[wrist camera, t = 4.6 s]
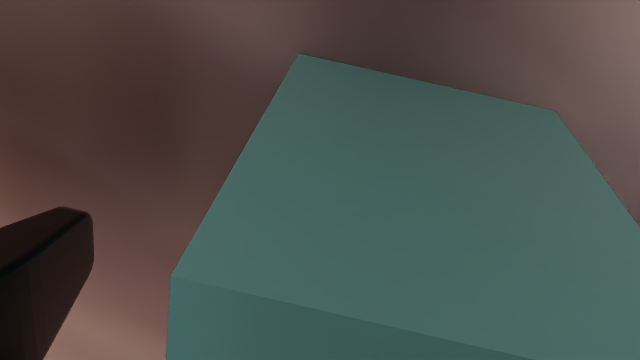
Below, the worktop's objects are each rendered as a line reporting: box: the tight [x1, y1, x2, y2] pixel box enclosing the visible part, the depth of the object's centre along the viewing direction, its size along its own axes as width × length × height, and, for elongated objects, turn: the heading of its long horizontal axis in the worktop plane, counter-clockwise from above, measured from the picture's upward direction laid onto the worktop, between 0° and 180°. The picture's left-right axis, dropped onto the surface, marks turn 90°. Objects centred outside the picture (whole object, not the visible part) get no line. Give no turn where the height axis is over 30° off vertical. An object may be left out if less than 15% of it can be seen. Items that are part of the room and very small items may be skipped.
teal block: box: [166, 53, 640, 360], centre depth 8 cm, size 4×4×6 cm
